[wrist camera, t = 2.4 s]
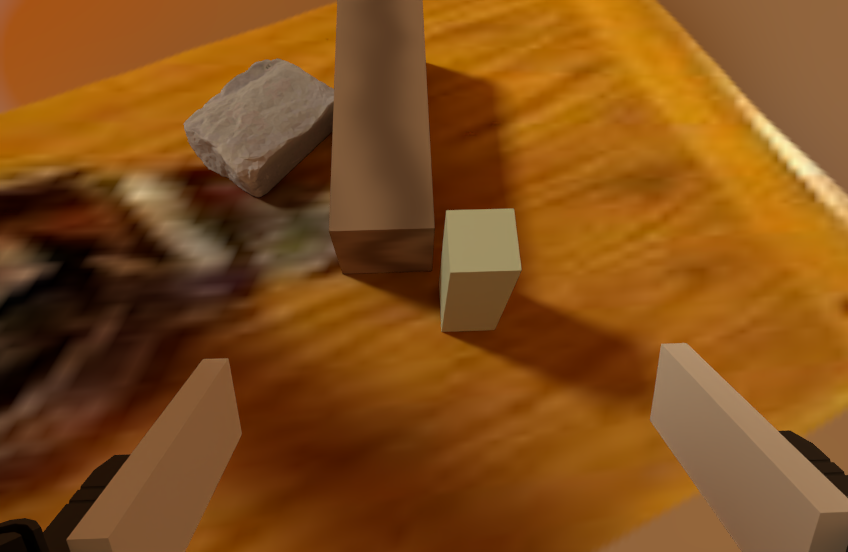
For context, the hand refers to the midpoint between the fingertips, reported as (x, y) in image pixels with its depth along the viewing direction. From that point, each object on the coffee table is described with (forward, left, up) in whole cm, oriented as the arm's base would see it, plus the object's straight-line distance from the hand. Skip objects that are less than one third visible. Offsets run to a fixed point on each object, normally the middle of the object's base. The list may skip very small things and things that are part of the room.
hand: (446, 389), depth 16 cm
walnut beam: (-3, +25, -22) cm, 33 cm away
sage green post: (+3, +11, -22) cm, 24 cm away
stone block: (-13, +28, -22) cm, 38 cm away
